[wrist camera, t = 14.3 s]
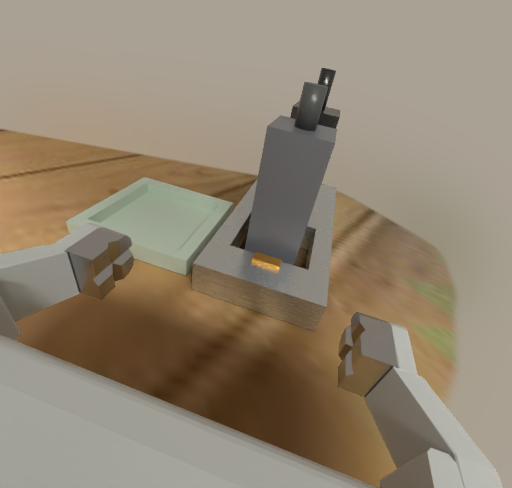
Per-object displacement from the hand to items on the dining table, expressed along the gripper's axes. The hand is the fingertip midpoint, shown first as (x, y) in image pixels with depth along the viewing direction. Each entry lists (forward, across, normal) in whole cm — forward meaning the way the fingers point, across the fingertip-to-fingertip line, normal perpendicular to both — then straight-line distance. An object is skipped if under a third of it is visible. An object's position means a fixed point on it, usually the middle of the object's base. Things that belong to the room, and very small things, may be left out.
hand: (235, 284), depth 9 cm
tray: (+12, +10, +8) cm, 18 cm away
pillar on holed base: (+16, 0, +8) cm, 18 cm away
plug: (+12, 0, +8) cm, 14 cm away
